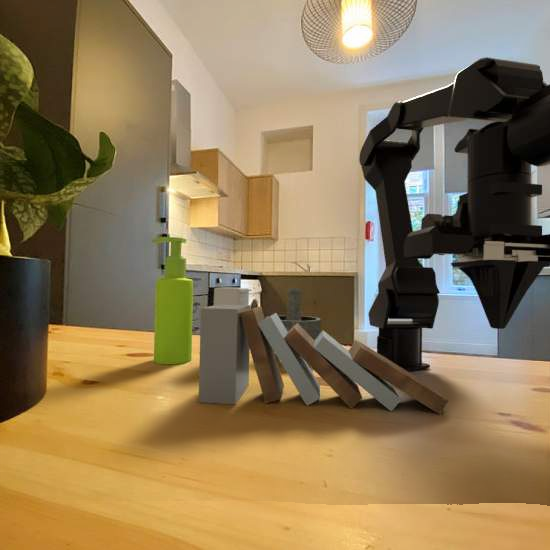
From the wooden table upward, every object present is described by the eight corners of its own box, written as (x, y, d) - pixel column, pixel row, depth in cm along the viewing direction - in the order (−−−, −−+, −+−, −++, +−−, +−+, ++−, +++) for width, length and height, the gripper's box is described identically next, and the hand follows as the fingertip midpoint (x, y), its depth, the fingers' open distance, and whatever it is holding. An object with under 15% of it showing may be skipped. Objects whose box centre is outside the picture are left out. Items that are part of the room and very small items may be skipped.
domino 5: (432, 386, 40) (355, 339, 41) (448, 401, 35) (360, 346, 36) (424, 398, 40) (348, 350, 41) (439, 414, 35) (352, 360, 36)
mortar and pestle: (320, 366, 55) (322, 289, 55) (261, 363, 55) (263, 288, 56) (318, 351, 66) (319, 288, 66) (269, 349, 67) (270, 287, 67)
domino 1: (284, 385, 42) (261, 306, 42) (279, 399, 37) (253, 308, 37) (271, 389, 42) (248, 309, 43) (265, 403, 37) (239, 312, 38)
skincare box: (237, 366, 53) (239, 288, 54) (211, 364, 54) (212, 287, 54) (248, 357, 59) (249, 287, 60) (224, 356, 60) (226, 287, 60)
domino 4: (391, 385, 40) (322, 330, 41) (401, 399, 35) (323, 336, 36) (382, 395, 40) (314, 340, 41) (391, 411, 35) (313, 348, 36)
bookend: (248, 385, 43) (250, 305, 44) (235, 404, 36) (237, 309, 37) (217, 383, 44) (219, 304, 44) (198, 402, 37) (200, 308, 37)
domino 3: (357, 384, 41) (297, 322, 42) (362, 398, 36) (294, 328, 37) (347, 393, 41) (287, 332, 42) (351, 408, 36) (283, 338, 37)
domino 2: (319, 384, 41) (276, 312, 42) (319, 398, 36) (270, 316, 37) (308, 391, 41) (265, 319, 42) (306, 405, 36) (257, 324, 37)
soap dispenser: (158, 355, 60) (161, 239, 60) (196, 357, 59) (199, 239, 59) (140, 363, 54) (144, 235, 54) (182, 365, 53) (186, 235, 53)
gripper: (510, 203, 46) (510, 320, 46) (380, 194, 43) (379, 320, 43) (602, 178, 35) (603, 332, 35) (436, 164, 32) (435, 333, 32)
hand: (497, 328), depth 36 cm, fingers closed
